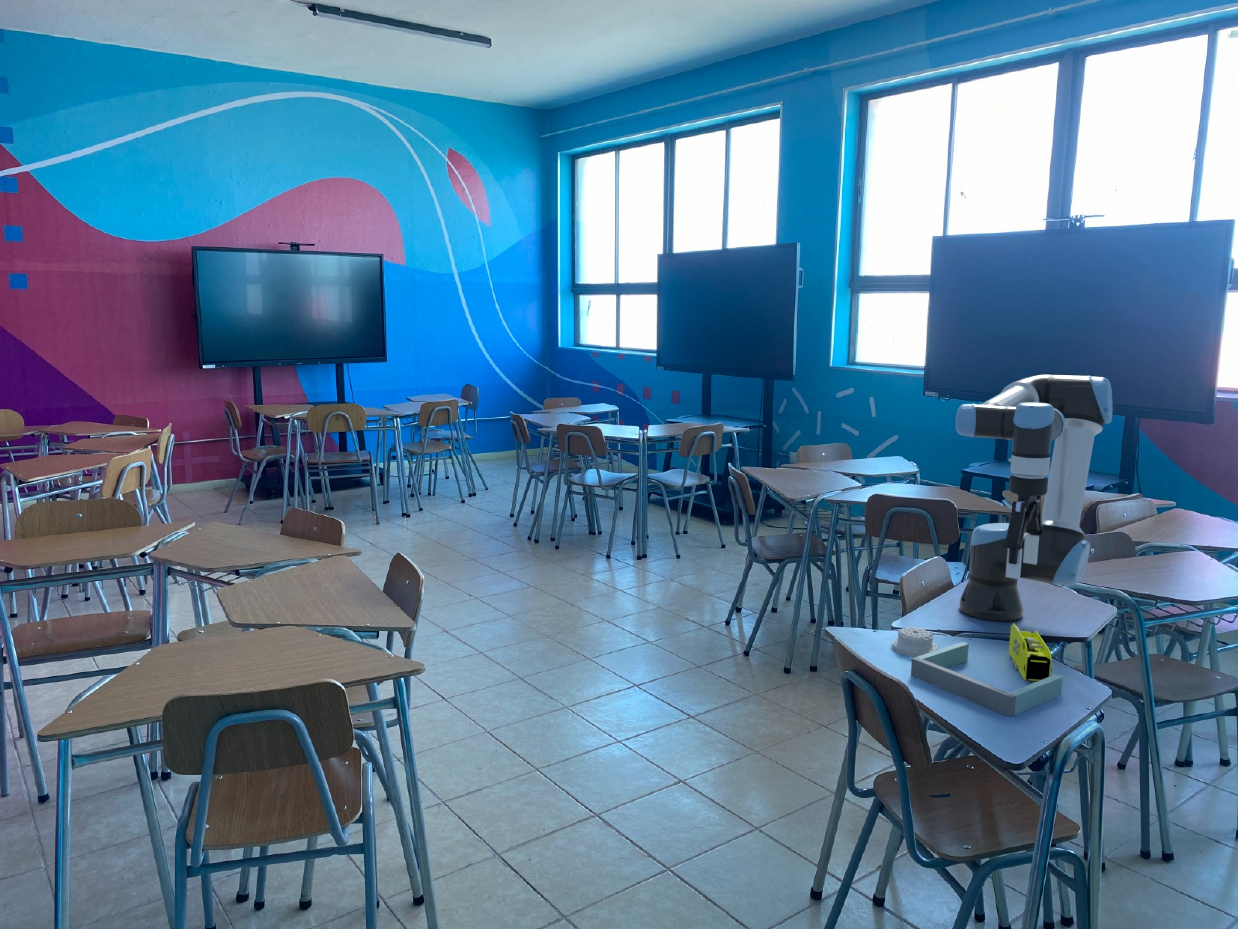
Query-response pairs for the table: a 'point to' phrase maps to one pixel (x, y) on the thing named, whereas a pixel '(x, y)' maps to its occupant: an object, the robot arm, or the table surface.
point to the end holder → (1009, 704)
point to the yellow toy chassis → (1030, 654)
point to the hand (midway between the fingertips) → (1021, 570)
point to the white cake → (914, 642)
